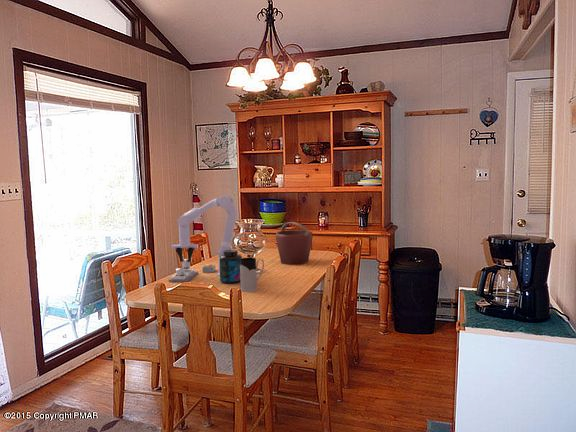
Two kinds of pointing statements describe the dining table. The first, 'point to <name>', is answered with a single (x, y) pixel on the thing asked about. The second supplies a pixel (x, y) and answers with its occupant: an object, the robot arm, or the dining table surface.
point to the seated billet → (180, 272)
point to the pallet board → (187, 276)
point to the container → (230, 267)
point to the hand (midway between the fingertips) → (185, 261)
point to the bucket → (294, 245)
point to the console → (208, 268)
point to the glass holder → (249, 274)
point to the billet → (186, 264)
